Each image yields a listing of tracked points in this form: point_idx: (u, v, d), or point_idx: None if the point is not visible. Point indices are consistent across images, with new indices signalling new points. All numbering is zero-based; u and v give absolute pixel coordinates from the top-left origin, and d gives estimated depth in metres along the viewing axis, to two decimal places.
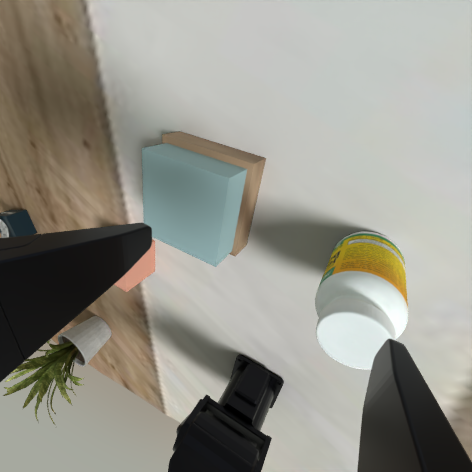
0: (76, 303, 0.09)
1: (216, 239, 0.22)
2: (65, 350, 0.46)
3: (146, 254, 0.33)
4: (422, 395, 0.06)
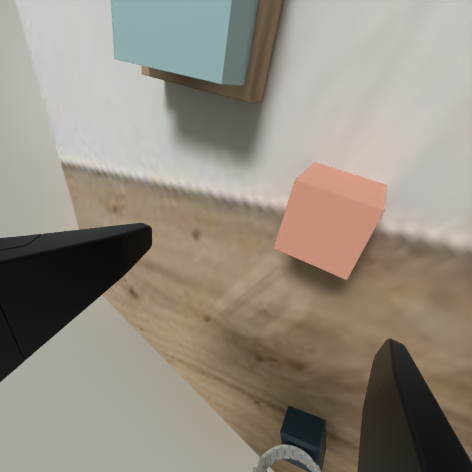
0: (76, 303, 0.09)
1: None
2: None
3: (327, 172, 0.18)
4: (422, 395, 0.06)
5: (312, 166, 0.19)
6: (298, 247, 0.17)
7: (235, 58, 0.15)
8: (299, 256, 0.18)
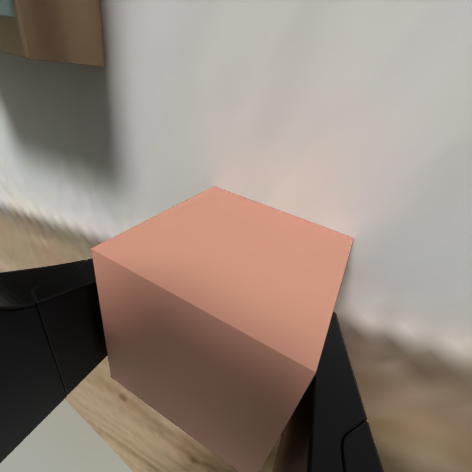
0: None
1: None
2: None
3: (221, 213, 0.08)
4: (336, 351, 0.07)
5: (195, 198, 0.09)
6: (147, 390, 0.07)
7: None
8: (155, 406, 0.08)
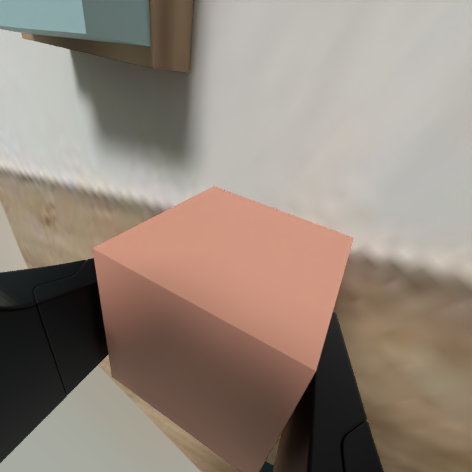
0: None
1: None
2: None
3: (222, 213, 0.08)
4: (335, 351, 0.07)
5: (196, 198, 0.09)
6: (148, 390, 0.08)
7: None
8: (156, 405, 0.08)
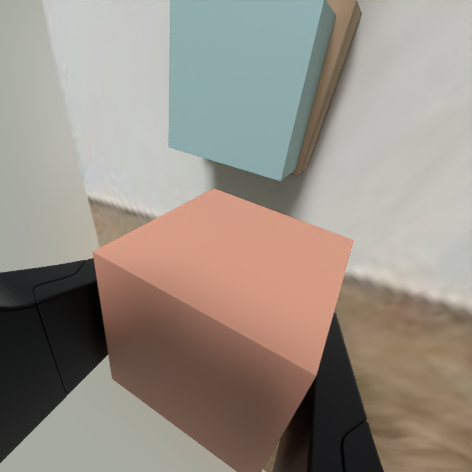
0: None
1: (263, 3, 0.12)
2: None
3: (222, 216, 0.08)
4: (335, 351, 0.07)
5: (196, 200, 0.09)
6: (148, 392, 0.08)
7: (292, 154, 0.16)
8: (156, 408, 0.08)
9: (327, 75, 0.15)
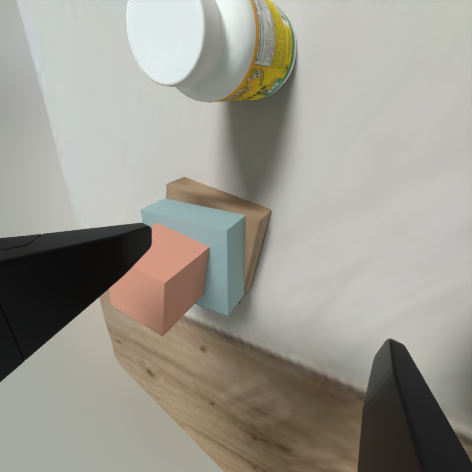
0: (76, 303, 0.09)
1: (195, 226, 0.20)
2: None
3: (156, 236, 0.20)
4: (422, 395, 0.06)
5: None
6: (124, 305, 0.19)
7: (234, 295, 0.23)
8: (128, 313, 0.20)
9: (249, 253, 0.22)
